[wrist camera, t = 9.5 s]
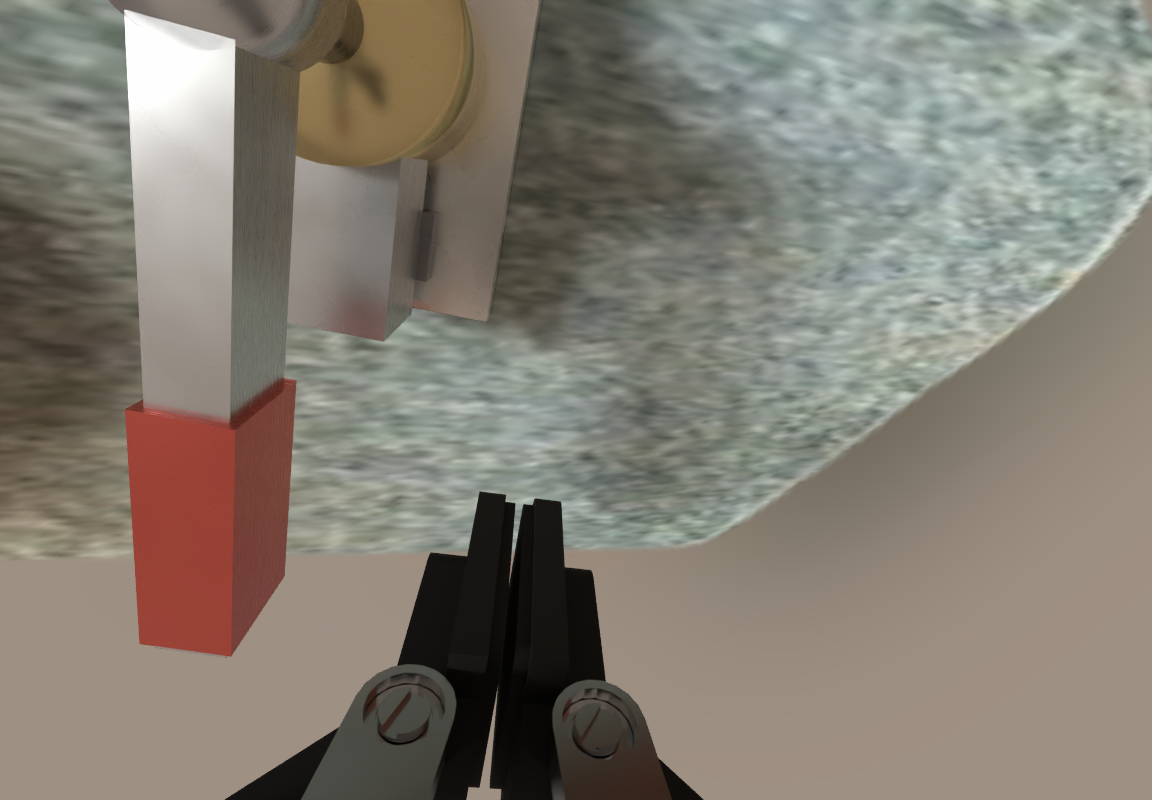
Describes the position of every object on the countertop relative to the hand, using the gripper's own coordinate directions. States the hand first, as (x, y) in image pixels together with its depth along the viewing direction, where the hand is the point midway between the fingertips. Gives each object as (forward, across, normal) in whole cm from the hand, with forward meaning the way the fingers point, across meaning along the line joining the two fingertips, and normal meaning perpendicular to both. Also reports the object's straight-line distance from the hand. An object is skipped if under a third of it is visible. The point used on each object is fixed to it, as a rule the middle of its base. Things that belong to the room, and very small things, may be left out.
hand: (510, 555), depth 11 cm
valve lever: (+4, +6, -3) cm, 8 cm away
